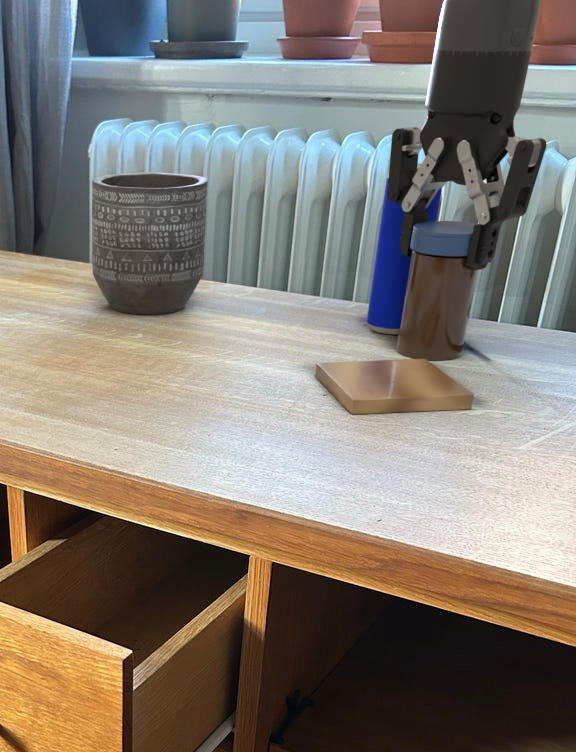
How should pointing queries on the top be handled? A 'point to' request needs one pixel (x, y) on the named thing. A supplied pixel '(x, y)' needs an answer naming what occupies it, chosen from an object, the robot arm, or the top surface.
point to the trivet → (392, 386)
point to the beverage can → (391, 267)
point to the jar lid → (442, 238)
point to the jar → (436, 307)
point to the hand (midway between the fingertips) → (442, 261)
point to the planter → (148, 239)
